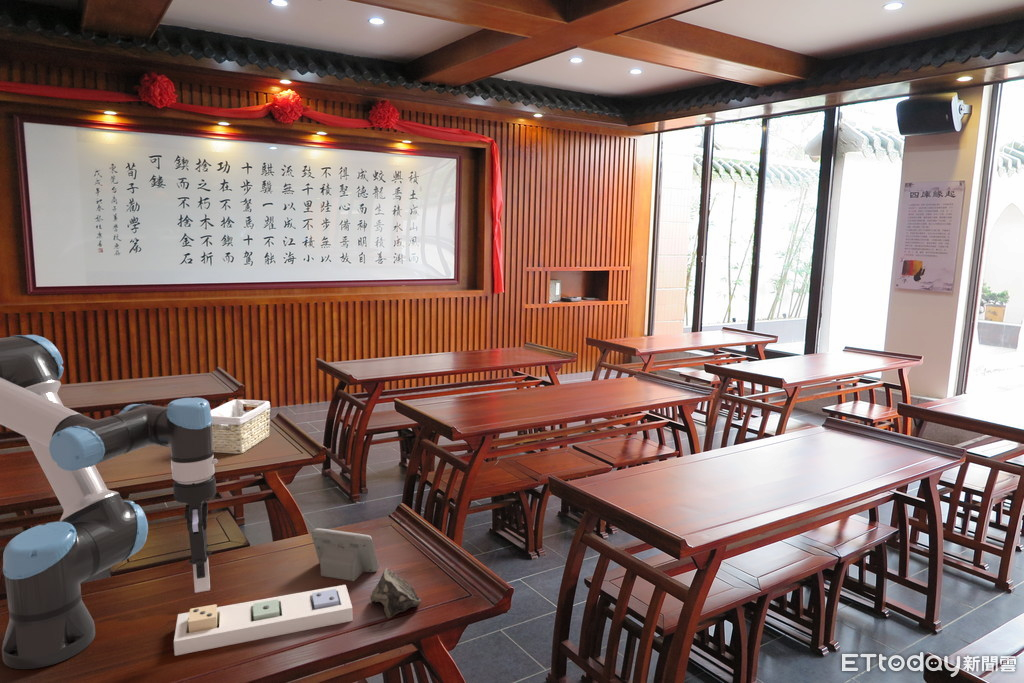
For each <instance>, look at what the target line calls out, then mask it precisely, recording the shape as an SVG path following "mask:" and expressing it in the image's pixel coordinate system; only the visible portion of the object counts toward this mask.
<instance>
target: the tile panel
mask: <svg viewBox="0 0 1024 683" xmlns="http://www.w3.org/2000/svg"><path fill="white" fill-rule="evenodd" d="M333 589H336V592H337V596H338V600H339V605H337V606H332V607H326V608H321V609H316V610H313V602H312V593H316V592H321V591H327V590H333ZM348 591H349V590H348V588H347V585H346V584H342V585H341V584H340V585H337V586H330V587H324V588H319V589H314V590H307V591H302V592H301V591H300V592H296V593H295V592H294V593H291V594H285V595H279V596H273V597H268V598H263V599H256V600H252V601H245V602H239V603H233V604H228V605H227V604H226V605H223V606H217V617H218V623H217V628H214V629H209V630H203V631H198V632H193V633H189V625H188V621H189V613H190V611H188V612H183V613H177V619H176V626H175V631H174V636H173V638H174V639H173V650H174V652H173V653H174V656H181V655H186V654H189V653H196V652H199V651H200V652H201V651H205V650H211V649H215V648H221V647H226V646H231V645H236V644H242V643H246V642H252V641H257V640H262V639H268V638H272V637H278V636H282V635H287V634H292V633H297V632H302V631H307V630H312V629H313V630H314V629H318V628H323V627H327V626H332V625H338V624H343V623H349V622H354V621H353V619H354V617H353V616H354V612H353V605H352V601H351V598H350V594H349V592H348ZM277 599H278V602H279V612H280V616H278V617H273V618H267V619H262V620H257V621H254V612H253V604H254V603H260V602H265V601H271V600H277Z"/></svg>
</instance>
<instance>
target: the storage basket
mask: <svg viewBox="0 0 1024 683" xmlns="http://www.w3.org/2000/svg"><path fill="white" fill-rule="evenodd" d="M244 407H245V408H247V407H248V408H254V409H252V410H248V411H245V410H244ZM210 411H211V417H212V437H213V451H214V453H221V454H235V455H236V454H243V453H245V452H247V451H248V450H250V449H251V448H253V447H254V446H256V445H258V444H260V442H262V441H264V440H265V439H267V438H268V437H269V436H270V421H271V420H270V416H271V414H270V413H271V402H270V401H268V400H258V399H257V400H256V399H237V398H236V399H232V400H230V401H228V402H225V403H223V404H220V405H219V406H217V407H215V408H212V409H210Z"/></svg>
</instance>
